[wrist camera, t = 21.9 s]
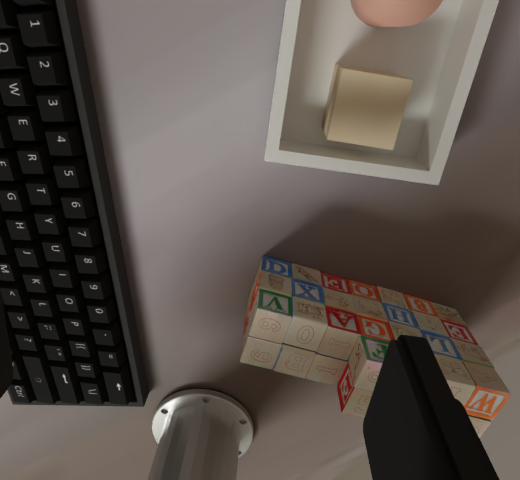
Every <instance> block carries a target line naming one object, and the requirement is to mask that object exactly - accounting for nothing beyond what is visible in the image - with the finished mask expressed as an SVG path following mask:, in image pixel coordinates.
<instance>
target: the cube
mask: <svg viewBox="0 0 520 480" xmlns="http://www.w3.org/2000/svg"><path fill="white" fill-rule="evenodd" d="M412 83H413V80H411V79H408V78H406V77H403V76H400V75H397V74H393V73H387V72H381V71H375V70H369V69H363V68H357V67H351V66H345V65H339V64H335V66H334V70H333V75H332V80H331V85H330V89H329V94H328V99H327V104H326V108H325V113H324V118H323V122H322V129H323V131H324V133H325V136H326V138H327V140H332V141H338V142H345V143H351V144H357V145H363V146H369V147H375V148H381V149H388V150H393V148H394V145H395V141H396V138H397V134H398V131H399V127H400V124H401V121H402V117H403V114H404V110H405V107H406V103H407V100H408V96H409V93H410V89H411V86H412Z"/></svg>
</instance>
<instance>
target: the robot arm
mask: <svg viewBox="0 0 520 480" xmlns="http://www.w3.org/2000/svg"><path fill="white" fill-rule="evenodd" d="M13 374H14V372H13V364H12V358H11V352H10V345H9V339H8V333H7V326H6V320H5V314H4V307H3V301H2V295H1V290H0V398H1V397H2V395H3V394H4V393H5V392H6V390H7V389H8V388H9V386H10V384H11V382H12V379H13ZM253 431H254V428H253V422H252V419H251V416H250V415H249V413H248V411H247V410H246V409H245V408H244V407H243V406H242V405H241V404H240V403H239V402H238V401H236V400H235V399H233V398H232V397H230V396H228V395H226V394H223V393H220V392H217V391H213V390H207V389H189V390H183V391H180V392H176V393H174V394H172V395H170V396H168V397H167V398H166V399H164V400H163V401H162V402H161V403H160V404H159V406H158V407H157V409H156V411H155V413H154V417H153V420H152V432H153V436H154V438H155V440H156V442H157V443H158V447H157V450H156V454H155V457H154V460H153V464H152V467H151V470H150V473H149V477H148V480H236V475H237V465H238V458H240V457H241V456H242V455H243V454H244V453H245V452H246V451H247V450H248V449H249V447H250V446H251V443H252V440H253ZM363 433H364V439H365V444H366V449H367V454H368V459H369V464H370V468H371V474H372V478H373V480H499V478H498V476H497V474H496V472H495V470H494V468H493V466H492V463H491V462H490V459H489V457H488V455H487V453H486V451H485V449H484V447H483V445H482V443H481V441H480V439H479V437H478V435H477V433H476V430H475V428H474V426H473V424H472V422H471V420H470V418H469V416H468V414H467V412H466V410H465V408H464V406H463V405H462V403H461V402H460V401H459V400H457V399H455V398H454V396H453V393H452V391H451V389H450V387H449V385H448V383H447V381H446V379H445V376H444V374H443V372H442V370H441V368H440V366H439V364H438V362H437V359H436V357H435V355H434V353H433V351H432V349H431V347H430V345H429V342H428V341H427V339H426V338H424V337H417V336H409V335H400V336H399V337H398V339H397V340H394V339H392V340H391V341H390V343H389V345H388V348H387V351H386V354H385V357H384V360H383V363H382V366H381V369H380V372H379V375H378V378H377V381H376V384H375V387H374V390H373V393H372V396H371V400H370V403H369V406H368V409H367V412H366V415H365V418H364V423H363Z"/></svg>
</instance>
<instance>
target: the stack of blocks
mask: <svg viewBox="0 0 520 480" xmlns="http://www.w3.org/2000/svg"><path fill="white" fill-rule="evenodd" d="M400 335H409V336H417V337H424V338H426V339H427V341H428V342H429V345H430V347H431V349H432V351H433V353H434V355H435V357H436V359H437V362H438V364H439V366H440V368H441V370H442V372H443V374H444V376H445V379H446V381H447V383H448V385H449V387H450V389H451V391H452V393H453V396H454V398H455V399H457V400H459V401H460V402H461V403H462V405H463V406H464V408H465V410H466V412H467V414H468V416H469V418H470V420H471V422H472V424H473V426H474V428H475V430H476V433H477V435H478V437H479V438H480V437H481V435H482V434H483V432H484V431H485V430H486V429H487V427H488V426H489V425H490V424H491V421H490V420H493V419H494V418H495V417H496V415H497V414H498V412H499V411H500V410H501V408H502V407H503V406H504V404H505V403H506V401H507V400H508V398H509V397H510V395H511V393H510V392H509V390H508V389H507V387H506V386H505V384H504V383H503V381H502V380H501V378H500V377H499V375H498V374H497V372H496V371H495V369H494V366H493V365H492V363H491V362H490V360H489V359H488V357H487V356H486V354H485V353H484V351H483V350H482V348H481V347H480V346H479V345H478V343H477V342H476V340H475V339H474V337H473V336H472V334H471V333H470V331H469V330H468V328H467V327H466V324H465V322H464V321H463V319H462V318H461V316H460V315H459V313H458V312H457V310H456V309H454V308H450V307H447V306H443V305H440V304H437V303H433V302H430V301H428V300H425V299H422V298H418V297H414V296H411V295H407V294H403V293H400V292H397V291H394V290H390V289H387V288H383V287H379V286H372V285H368V284H364V283H361V282H357V281H354V280H350V279H345V278H341V277H338V276H334V275H330V274H327V273H323V272H320V271H319V270H316V269H312V268H308V267H305V266H301V265H298V264H294V263H289V262H286V261H282V260H279V259H275V258H272V257H268V256H262V259H261V262H260V265H259V268H258V271H257V274H256V277H255V280H254V283H253V286H252V289H251V292H250V295H249V299H248V303H247V310H246V318H245V325H244V337H243V341H242V348H241V356H240V362H242V363H245V364H250V365H254V366H258V367H262V368H266V369H273V371H276V372H280V373H284V374H288V375H292V376H296V377H300V378H306V379H308V380H312V381H316V382H320V383H325V384H329V385H338V386H337V390H338V395H339V401H340V407H341V411H342V413H344V414H348V415H352V416H356V417H361V418H365V415H366V412H367V409H368V406H369V403H370V400H371V396H372V393H373V390H374V387H375V384H376V381H377V378H378V375H379V372H380V369H381V366H382V363H383V360H384V357H385V354H386V351H387V348H388V345H389V343H390V341H391V340H392V339H394V340H397V339H398V337H399V336H400Z"/></svg>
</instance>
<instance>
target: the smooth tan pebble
mask: <svg viewBox="0 0 520 480" xmlns="http://www.w3.org/2000/svg"><path fill="white" fill-rule="evenodd" d="M442 1H443V0H350V2H351V6H352V9H353V11H354V13H355V14H356V16H357V17H358V18H359V19H360V20H361V21H362V22H363V23H365V24H367V25H369V26H372V27H377V28H383V27H403V26H411V25H414V24H417V23H420V22H421V21H423V20H425V19H426V18H428V17H429V16H430V15H432V14H433V13H434V12H435V11H436V10H437V9H438V7H439V6H440V5H441V3H442Z"/></svg>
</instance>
